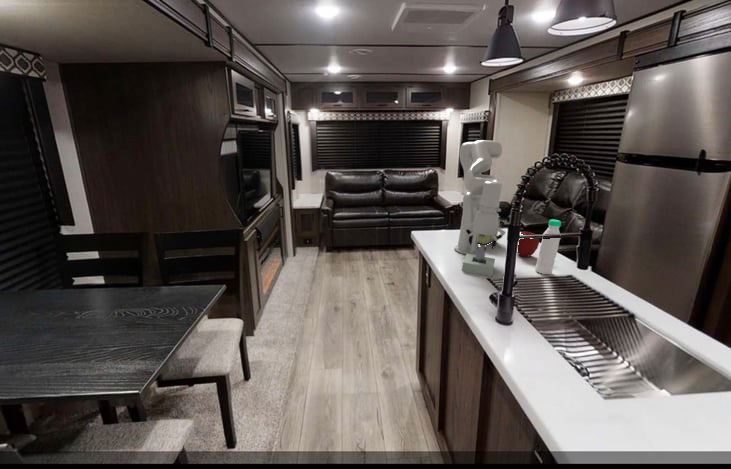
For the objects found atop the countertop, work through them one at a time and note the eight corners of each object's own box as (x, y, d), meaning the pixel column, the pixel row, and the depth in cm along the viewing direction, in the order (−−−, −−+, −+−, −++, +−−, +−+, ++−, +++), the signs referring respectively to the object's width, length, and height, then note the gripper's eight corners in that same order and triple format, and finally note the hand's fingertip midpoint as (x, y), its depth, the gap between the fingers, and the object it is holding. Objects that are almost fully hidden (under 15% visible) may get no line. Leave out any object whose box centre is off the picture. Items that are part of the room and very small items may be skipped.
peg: (473, 266, 159) (477, 244, 156) (482, 267, 157) (486, 245, 154) (472, 269, 155) (476, 246, 152) (482, 270, 154) (486, 248, 151)
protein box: (467, 241, 194) (471, 215, 189) (479, 237, 205) (484, 212, 200) (484, 246, 187) (489, 219, 182) (496, 241, 198) (501, 215, 193)
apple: (508, 250, 184) (513, 227, 180) (530, 252, 183) (536, 229, 179) (515, 258, 172) (521, 233, 168) (539, 260, 171) (545, 235, 167)
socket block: (465, 261, 164) (466, 253, 163) (493, 266, 160) (495, 258, 159) (461, 270, 153) (462, 262, 152) (491, 276, 148) (493, 268, 147)
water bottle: (542, 268, 161) (554, 217, 154) (555, 274, 155) (568, 222, 148) (531, 269, 159) (543, 218, 151) (543, 276, 152) (556, 222, 145)
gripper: (509, 210, 148) (501, 247, 154) (469, 204, 154) (463, 240, 160) (509, 214, 142) (501, 252, 147) (466, 208, 148) (460, 244, 154)
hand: (481, 246), depth 154 cm, fingers open, 9 cm apart
